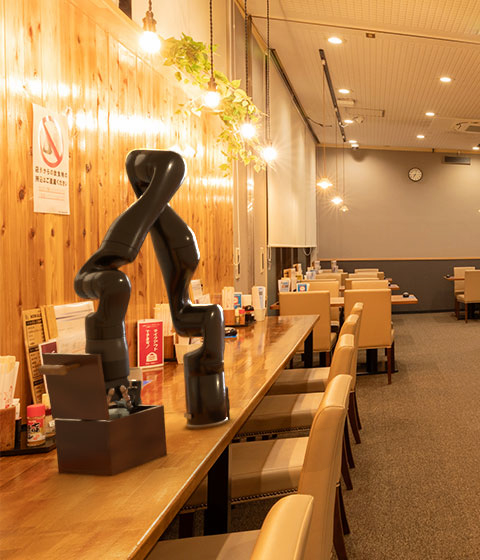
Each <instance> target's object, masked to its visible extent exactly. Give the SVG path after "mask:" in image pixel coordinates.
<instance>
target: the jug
mask: <svg viewBox="0 0 480 560" xmlns="http://www.w3.org/2000/svg"><path fill="white" fill-rule="evenodd" d="M126 415H129V412H128V411H127V409H124V408H117V409H109V416H110V419H109V420H113V419H116V418H120V417H123V416H126ZM109 420H104V421H109Z"/></svg>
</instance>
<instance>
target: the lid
mask: <svg viewBox="0 0 480 560" xmlns="http://www.w3.org/2000/svg"><path fill="white" fill-rule="evenodd" d="M41 358H42V362H43V364H42V365H40V366H39V367H38V368H37V373H38V374H39V375H42V376H45V382H46V387H47V388H46V389H47V394H48V399H49V406H50V407H49V408H50V412H51V418H52V419H86V420H109V419H110V416H109V409H108V402H107V396H106V389H105V382H104V375H103V369H102V362H101V355H100V354H85V353H77V352H76V353H74V352H73V353H71V352H70V353H69V352H44V353H41Z"/></svg>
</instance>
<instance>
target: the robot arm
mask: <svg viewBox="0 0 480 560" xmlns="http://www.w3.org/2000/svg"><path fill="white" fill-rule="evenodd" d="M124 167H125V172H126V173H125V174H126V176H127V179H128V182H129V184H130V186H131V188H132V191H133V193H134V195H135V197H136V200H135V202H133V203H132V204H131V205H130V206H129V207H127V208H126V209H125V210H124V211H123V212H121V213H120V214H119V215H117V217H116V218H115V219H114V220H113V221H112V222H111V223H110V225H109V227H108V229H107V230H106V233H105V234H104V237H103V239H102V240H101V242H100V245H99V247H98V249H97V250H95V252H94V253H92V254H91V255H90V256H89V258H88V259H87V260H86V262H85V263H83V265H82V266H81V267H80V268H79V269H78V271H77V273H76V274H75V276H74V278H73V285H72V286H73V291H74V293H75V294H76V296H77V297H79V298H80V299H83V300H84V301H98V305H97V309H96V311H92V312H90V313H88V314H86V316H85V317H84V334H85V344H84V345H85V346H84V354H100V355H101V362H102V369H103V375H104V382H105V389H106V396H107V402H108V406H109V403H112V402H114V403H116V404H117V406H118V408H124V409H127V411H128V412H129V415H130V414H131V410H132V409H133V408H134V407H135V406H138V405H139V404H140V396H142V395H141V393H142V389H141V385H142V382H141V381H140V380H130V381H129V380H128V378H127V377H128V376H129V375H130V368H131V366H130V354H129V344H128V340H127V330H126V315H127V312H128V309H129V303H130V301H131V297H132V296H131V295H132V289H133V288H132V281H131V279H130V278H129V276H128V275H127V273H125V272H124V271H122V270H120V269H122V268H123V267H126V266H129V265H131V264H133V263H134V262H135V261H136V260H137V257H138V255H139V253H140V251H141V249H142V247H143V244H144V242H145V240H146V238H147V236H148V234H149V237H150V240H151V244H152V247H153V252H154V254H155V258H156V261H157V264H158V267H159V270H160V272H161V276H162V280H163V284H164V287H165V292H166V296H167V303H168V308H169V312H170V318H171V322H172V327H173V329H174V331H175V333H176V335H177V336H179V338H181V339H182V338H183V339H202V344H201V346H199V347H198V348H195V349H193V350H190V351H187V352H185V353H184V354H183V356H182V362H183V363H182V364H183V366H182V367H183V382H184V383H183V384H184V397H185V398H184V399H185V400H184V401H185V412H184V413H183V417H184V418H185V419H186V428H187V429H190V430H191V429H192V430H202V429H208V428H214V427H218V426H222V425H224V424H226V423H228V421H230V420H231V414H230V410H231V404H230V403H231V402H230V397H229V395H230V394H229V387H228V386H226V375H225V373H226V372H225V349H226V317H225V312H224V310H223V309H224V308H223V307H222V306H221V305H219V304H217V303H192V301H191V297H190V285H191V282H192V279H193V278H194V275H195V273H196V271H197V269H198V267H199V264H200V261H201V254H200V249H199V245H198V242H197V239H196V235H195V233H194V232H193V230H192V228H191V227H190V226H189V225H188V223H187V222H186V221H185V220H184V219H183V218H182V217H181V216H180V215H179V214H178V212H176V210H175V209H174V208H173V207H172V205H171V204H170V202H171V200H172V199H173V198H174V196H175V194H176V193H177V192H178V191H179V189H180V188H181V186H182V185H183V183H184V181H185V179H186V177H187V173H188V167H187V162H186V160H185V158H184V157H183V155H181V154H180V153H179V152H177V151H174V150H169V149H158V148H157V149H155V148H134V149H132V150H130V151H129V152H128V153H127V155H126V157H125V162H124ZM126 390H127V392H126ZM133 396H134V401H133ZM103 421H104V420H103Z"/></svg>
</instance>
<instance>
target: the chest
mask: <svg viewBox="0 0 480 560" xmlns="http://www.w3.org/2000/svg"><path fill="white" fill-rule="evenodd" d="M117 408H118V406H117V404H111V405H109V406H108V409H117ZM165 418H166V417H165V405H163V404H161V405H160V404H142V405H138V406H135V407H134V408H133V409H132V410H131V414H130V415H126V416H123V417H120V418H116V419H113V420H109V421H103V420H86V419H58V418H55V419H54V431H55V433H54V434H55V444H56V445H55V446H56V458H57V459H56V460H57V472H58V474H75V475H77V474H78V475H94V476H95V475H96V476H115V475H117V474H120V473H122V472H125V471H127V470H130V469H133V468H136V467H138V466H140V465H143V464H145V463H148V462H150V461H153V460H156V459H160V458H161V457H163V456H166V455H168V452H167V437H166V436H167V435H166V420H165Z"/></svg>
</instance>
